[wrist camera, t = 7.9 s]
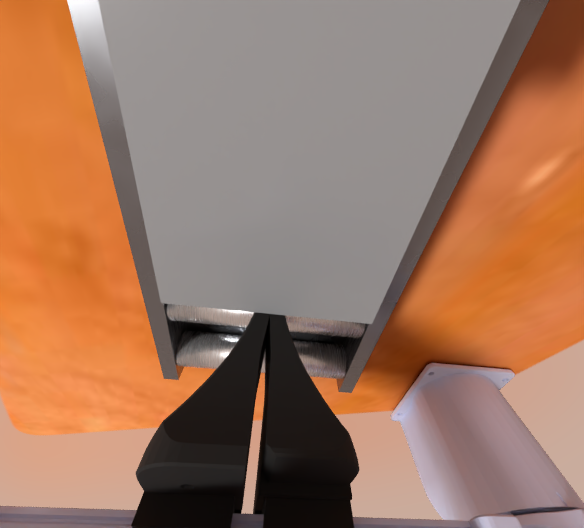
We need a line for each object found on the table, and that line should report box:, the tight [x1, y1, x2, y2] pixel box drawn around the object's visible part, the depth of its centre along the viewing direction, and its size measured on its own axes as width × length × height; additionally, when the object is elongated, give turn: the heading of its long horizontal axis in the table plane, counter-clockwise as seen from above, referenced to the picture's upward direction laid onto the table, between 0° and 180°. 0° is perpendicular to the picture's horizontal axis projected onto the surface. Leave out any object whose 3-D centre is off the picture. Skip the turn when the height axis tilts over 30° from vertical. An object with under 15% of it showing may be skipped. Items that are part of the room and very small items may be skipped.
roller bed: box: [67, 0, 549, 393], centre depth 13 cm, size 22×14×3 cm, turn 172°
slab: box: [98, 0, 520, 324], centre depth 9 cm, size 12×10×1 cm
